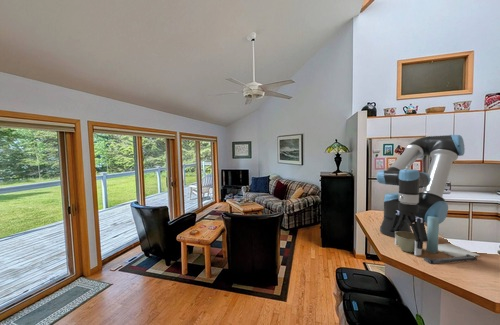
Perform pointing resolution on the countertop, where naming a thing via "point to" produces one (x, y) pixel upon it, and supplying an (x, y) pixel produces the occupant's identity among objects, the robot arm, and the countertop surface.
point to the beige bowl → (405, 240)
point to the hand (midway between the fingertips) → (407, 249)
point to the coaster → (454, 250)
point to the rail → (450, 259)
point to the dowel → (432, 234)
